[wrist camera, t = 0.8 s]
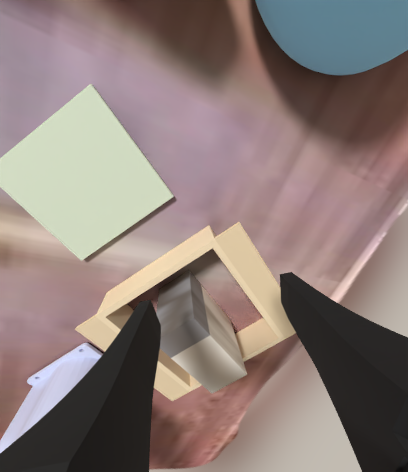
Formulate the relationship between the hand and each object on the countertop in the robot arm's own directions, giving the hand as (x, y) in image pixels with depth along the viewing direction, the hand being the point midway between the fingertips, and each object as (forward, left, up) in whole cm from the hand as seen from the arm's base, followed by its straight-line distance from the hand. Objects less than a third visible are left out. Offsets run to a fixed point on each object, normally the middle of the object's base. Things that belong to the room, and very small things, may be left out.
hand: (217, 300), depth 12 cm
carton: (-6, -8, -11) cm, 14 cm away
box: (-5, -8, -11) cm, 14 cm away
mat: (-6, +9, -11) cm, 15 cm away
